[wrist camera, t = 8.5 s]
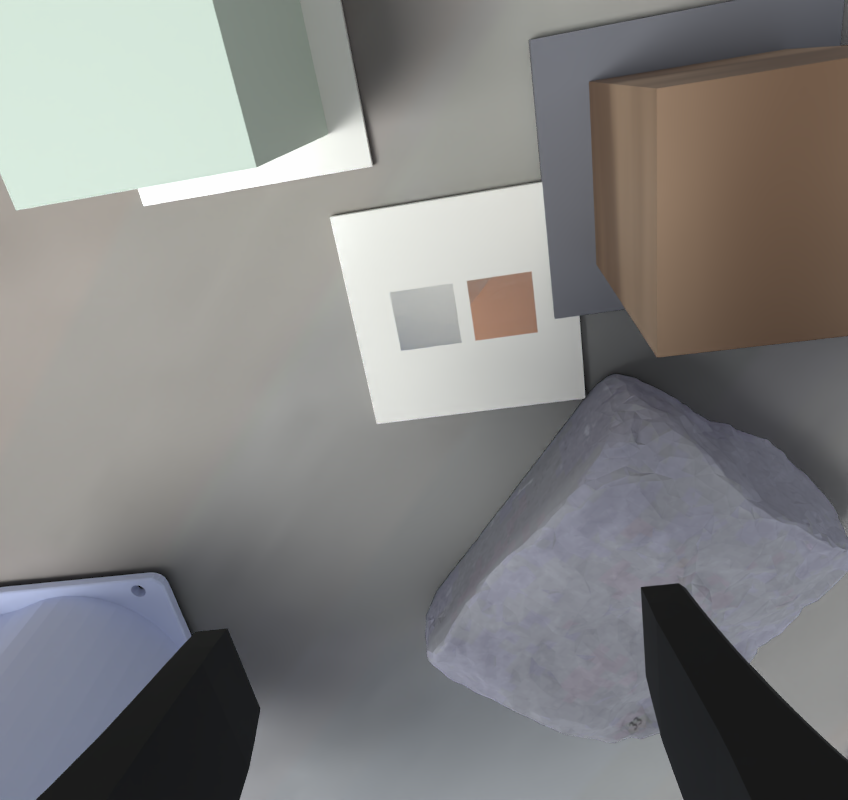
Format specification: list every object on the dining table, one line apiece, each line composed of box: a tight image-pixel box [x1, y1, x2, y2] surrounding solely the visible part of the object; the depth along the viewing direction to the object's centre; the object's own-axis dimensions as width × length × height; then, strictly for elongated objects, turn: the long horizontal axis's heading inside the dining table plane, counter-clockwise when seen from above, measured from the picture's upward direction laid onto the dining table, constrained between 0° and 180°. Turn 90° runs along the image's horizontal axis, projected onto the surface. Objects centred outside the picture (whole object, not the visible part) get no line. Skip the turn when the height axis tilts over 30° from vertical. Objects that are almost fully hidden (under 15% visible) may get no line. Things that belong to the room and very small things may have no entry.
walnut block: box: [589, 45, 848, 358], centre depth 14 cm, size 4×4×6 cm
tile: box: [138, 0, 373, 206], centre depth 17 cm, size 6×6×1 cm
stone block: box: [425, 374, 848, 743], centre depth 22 cm, size 12×5×10 cm
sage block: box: [0, 0, 328, 210], centre depth 14 cm, size 4×4×6 cm
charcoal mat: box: [529, 0, 844, 319], centre depth 17 cm, size 7×7×1 cm
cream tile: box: [330, 181, 585, 424], centre depth 19 cm, size 6×6×1 cm
